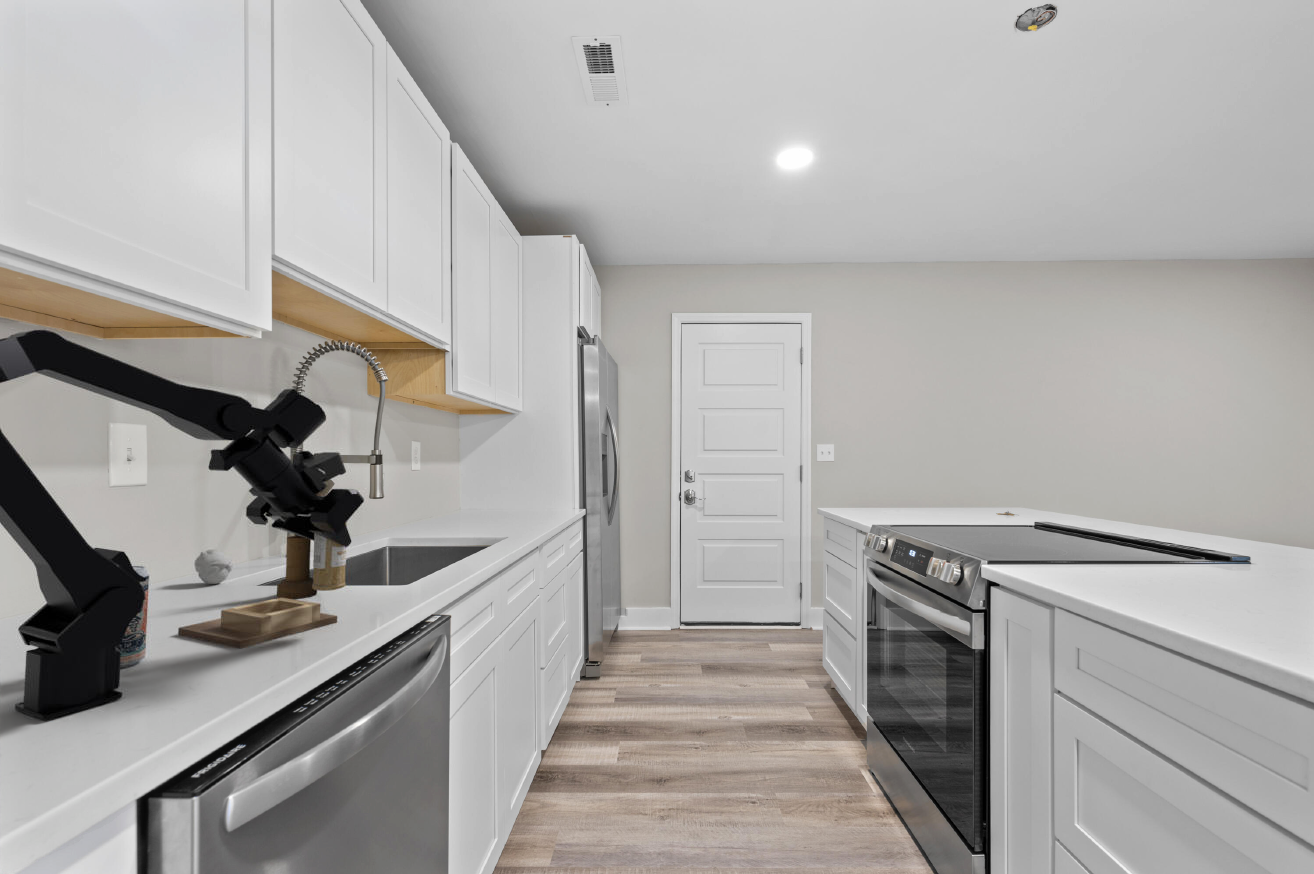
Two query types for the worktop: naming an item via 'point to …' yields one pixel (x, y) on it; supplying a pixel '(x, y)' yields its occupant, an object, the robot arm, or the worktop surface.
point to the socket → (259, 622)
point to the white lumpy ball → (213, 566)
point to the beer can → (136, 630)
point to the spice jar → (328, 564)
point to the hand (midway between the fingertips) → (338, 543)
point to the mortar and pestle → (297, 570)
